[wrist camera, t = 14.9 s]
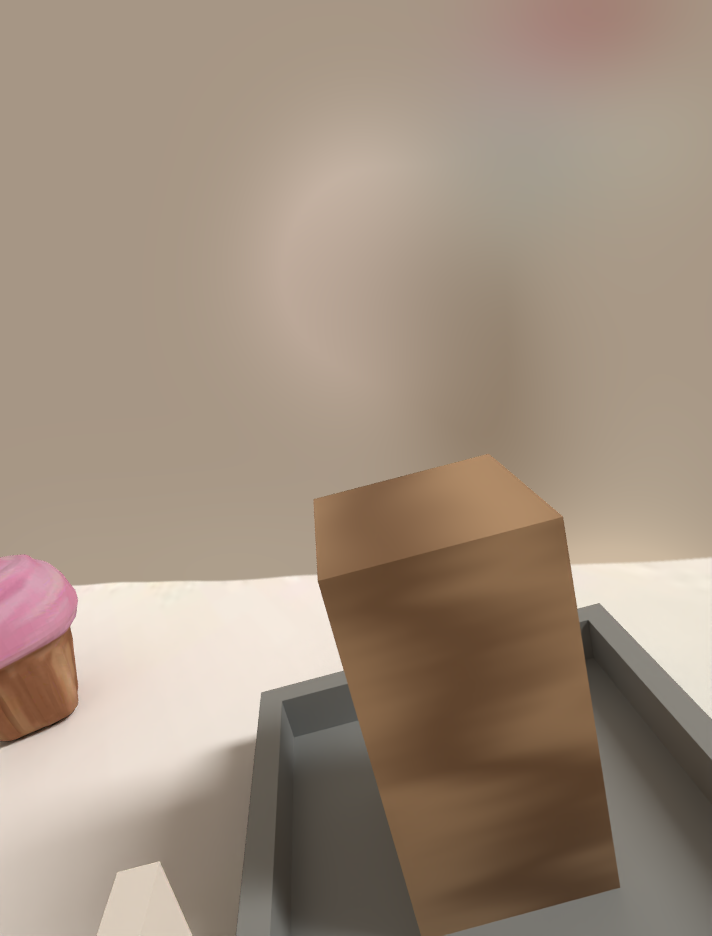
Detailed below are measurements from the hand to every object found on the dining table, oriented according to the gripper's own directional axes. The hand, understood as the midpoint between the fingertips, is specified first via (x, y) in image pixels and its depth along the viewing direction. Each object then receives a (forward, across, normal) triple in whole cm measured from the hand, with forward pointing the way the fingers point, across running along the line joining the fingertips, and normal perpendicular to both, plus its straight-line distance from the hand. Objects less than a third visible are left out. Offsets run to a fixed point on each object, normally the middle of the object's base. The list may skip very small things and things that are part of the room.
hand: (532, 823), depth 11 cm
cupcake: (+24, -23, -10) cm, 34 cm away
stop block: (+8, 0, -8) cm, 11 cm away
